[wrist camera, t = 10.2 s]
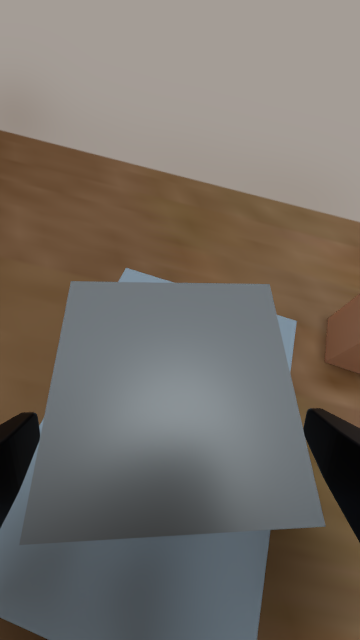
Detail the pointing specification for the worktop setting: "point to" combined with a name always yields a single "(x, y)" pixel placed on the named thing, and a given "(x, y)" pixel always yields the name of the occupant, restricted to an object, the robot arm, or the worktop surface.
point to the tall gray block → (169, 418)
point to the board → (135, 574)
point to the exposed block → (344, 337)
